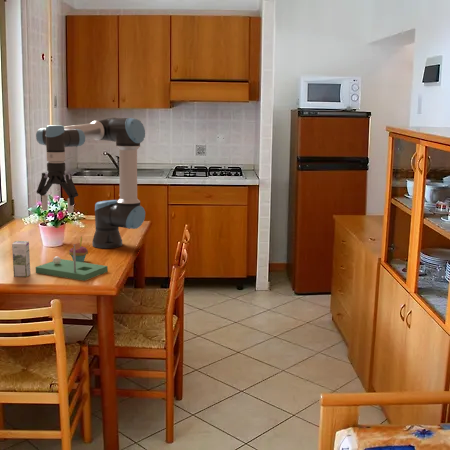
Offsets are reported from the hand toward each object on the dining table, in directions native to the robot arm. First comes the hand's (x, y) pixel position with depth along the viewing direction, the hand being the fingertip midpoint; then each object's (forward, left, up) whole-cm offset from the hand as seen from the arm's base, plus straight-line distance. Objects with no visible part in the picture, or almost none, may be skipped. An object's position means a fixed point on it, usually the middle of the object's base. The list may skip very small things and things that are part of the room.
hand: (57, 211), depth 271 cm
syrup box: (+14, -9, -26) cm, 31 cm away
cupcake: (-16, -3, -26) cm, 31 cm away
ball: (0, -2, -22) cm, 22 cm away
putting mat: (0, +6, -26) cm, 27 cm away
